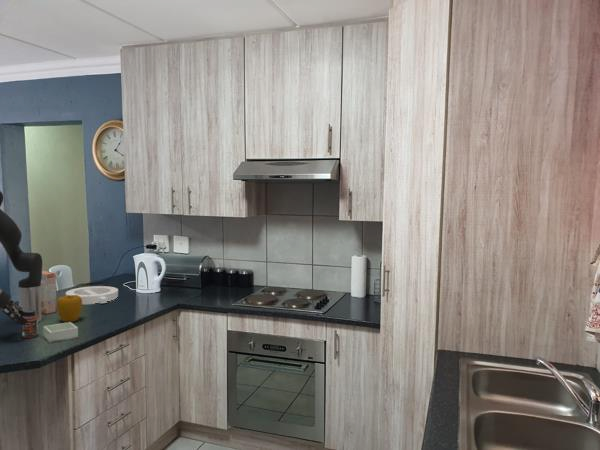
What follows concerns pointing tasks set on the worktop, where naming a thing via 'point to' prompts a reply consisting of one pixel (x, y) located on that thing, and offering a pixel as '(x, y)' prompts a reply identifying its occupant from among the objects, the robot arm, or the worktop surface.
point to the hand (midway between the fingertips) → (26, 320)
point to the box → (60, 332)
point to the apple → (69, 307)
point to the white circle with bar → (95, 294)
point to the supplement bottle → (30, 324)
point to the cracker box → (48, 292)
